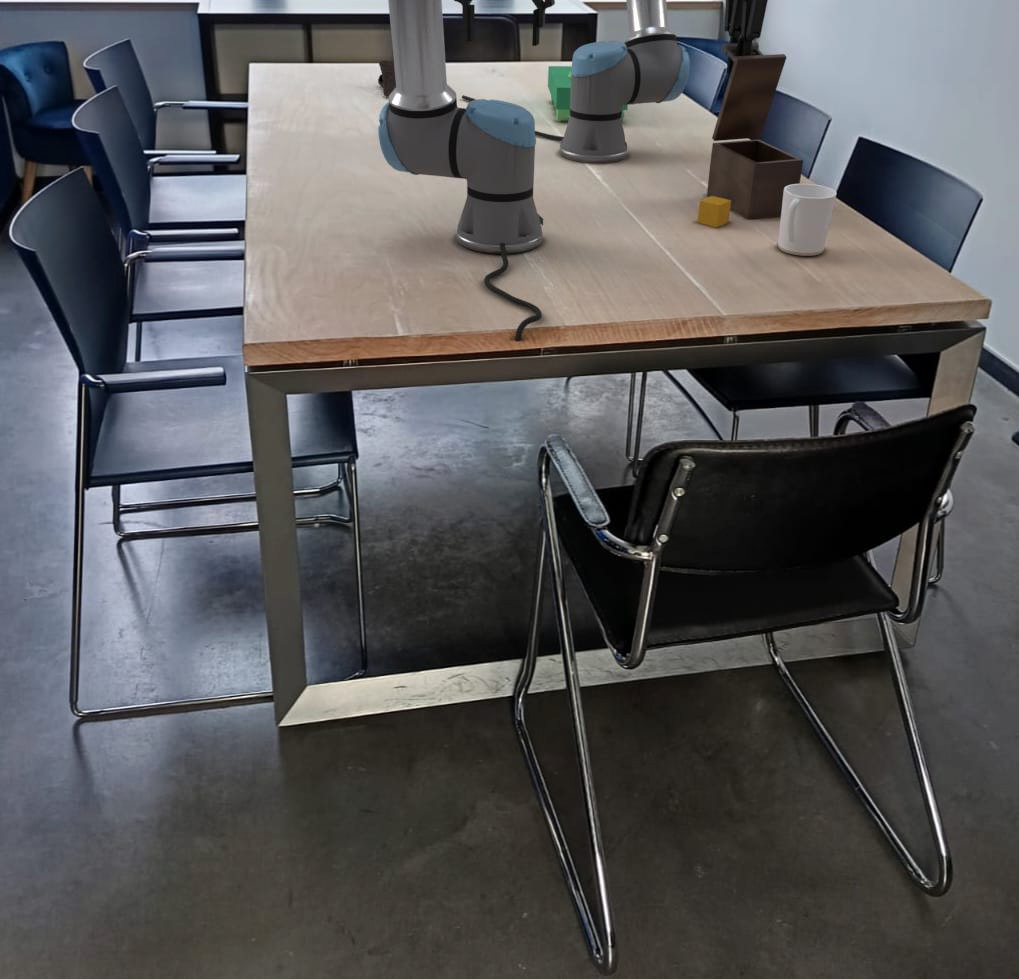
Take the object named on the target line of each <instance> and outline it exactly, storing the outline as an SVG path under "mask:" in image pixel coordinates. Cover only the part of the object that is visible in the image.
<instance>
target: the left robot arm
mask: <svg viewBox="0 0 1019 979" xmlns="http://www.w3.org/2000/svg"><path fill="white" fill-rule="evenodd" d="M453 1H454V2H457V3H459V4H460V5H461V6H462V7H461V8H462V23H464V24H465V23H466V41H467V42H473V41H474V40H475V24H476V23H475V22H476V21H475V12H476V11H475V10H476V9H475V4H472V2H473V0H453ZM531 1H532V3H533V4H534V6H535V7H536V8H535V9H533V10H532V12H533V13H532V39H531V40H532V42H531V44H532V45H531V46H532V47H537V46H539V45H540V30H541V29H542V28H545V24H546V9H548V8H551V7H553V6H555V4H556V1H555V0H531ZM387 2H388V3H387V4H388V11H389V12H388V13H389V23H390V33H391V34H390V36H391V45H392V56H393V61H394V68H395V79H396V88H395V89H394V90H393V92H392V93H391V94H390V95H389V97H388V98H387V99H388V102H386V103H385V104H384V105H383V107H382V108H381V111H380V113H379V117H378V122H379V126H378V128H377V131H378V132H377V133H378V141H379V147H380V149H381V154H382V156H383V157H384V159H385V161H386V163H387V164H388V165H389V166H390V167H391V168H392V169H393V170H396V171H398V172H402V173H408V174H411V175H413V176H414V175H415V176H418V175H423V176H435V177H442V178H443V177H444V178H452V179H453V178H454V179H463V180H466V192H467V193H466V198H465V202H464V205H463V209H462V211H461V214H460V218H459V220H458V224H457V228H456V241H457V243H458V244H459V245H461V246H462V247H464V248H466V249H468V250H470V251H475V252H479V253H486V254H497V255H499V254H500V256H501V261H502V265H501V267H500V268H498V269H496V270H494V271H492V272H490V273H488V274H487V275H485V276H484V280H483V283H484V285H485V287H486V288H487V289H488V290H489V291H491V292H493V293H495V294H496V295H498V296H500V297H502V298H503V299H505V300H507V301H509V302H510V303H514V304H516V305H518V306H521V307H523V308H527V309H528V310H531V311H532V312H533V313H534V315H531V316H528V317H527V318H525V319H524V320H522V321H521V322H520V323H519V325H518V326H517V329H516V331H515V336H514V341H515V342H521V340H522V336H523V332H524V330H525V328H526V327H527V326H528V325H530V324H532V323H535V322H538V321H539V320H540V319H542V316H543V313H542V311H541V309H540V308H539V306H537V305H535V304H533V303H532V302H529V301H526V300H523V299H520V298H519V297H515V296H514V295H511V294H509V293H507V292H506V291H504V290H502V289H500V288H498V287H496V286H495V285H493V284H492V283H491V280H492V279H494V278H495V277H497V276H500V275H502V274H504V273H505V272H506V271H507V270H508V268H509V258H508V256H507V255H508V254H517V253H524V252H527V251H530V250H533V249H536V248H538V247H539V246H540V245H541V244H542V243H543V229H542V227H543V226H544V218H543V217H542V216H541V215H540V214H539V212H538V210H537V206H536V204H535V199H534V184H535V181H534V180H535V158H536V156H535V155H536V144H537V138H536V135H535V131H536V128H535V127H536V123H535V122H536V121H535V118H534V116H533V114H532V113H531V111H529V110H527V108H525V107H523V106H521V105H518V104H516V103H512V102H509V101H504V100H499V99H486V98H480V99H476V100H473V101H469V102H468V104H467V106H466V107H458V101H457V100H458V99H457V92H456V91H455V90H454V89H453V88H452V87H451V86H450V85H449V84H448V82H447V65H446V50H445V49H446V48H445V33H444V17H443V16H444V15H443V1H442V0H387ZM517 580H518V575H516V574H515V573H514V572H511V581H517Z"/></svg>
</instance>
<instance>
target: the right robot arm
mask: <svg viewBox="0 0 1019 979" xmlns="http://www.w3.org/2000/svg"><path fill="white" fill-rule="evenodd" d="M768 2H769V0H725V6H724V7H725V8H724V24H723V25H724V28H723V29H724V32H727V33H728V36H729V43H737V51H736V55H735V56H752V54H751V48H752V42H754V41H755V40H757V39H760V38H761V36H762V31H763V25H764V20H765V16H766V10H767V6H768ZM667 8H668V7H667V0H626V9H627V10H626V11H627V19H628V21H627V22H628V30H629V34H628V36H627V37H626V39H625V40H624V41H623V42H622V41H616V40H609V41H606V40H605V41H595V42H591V43H587V44H584V45H583V44H582V45H581V46H579V47H578V48H577V49H576V50H575V51H574V52H573V53H572V54H573V55H572V59H571V60H572V61H571V66H572V67H571V93H570V116H569V121H567V124H566V127H565V131H564V136H562V135H561V136H560V135H555V134H549V133H545V132H541V131H539V130H538V131H537V130H535V136H538V137H541V138H545V139H548V140H554V141H559V142H560V145H559V155H560V156H562V157H563V158H566V159H568V160H570V161H571V160H572V161H576V162H581V163H593V164H596V163H597V164H603V163H605V164H606V163H613V162H619V161H621V160H624V159H625V158H627V157H628V150H629V148H628V142H627V141H626V135H625V130H624V126H623V120H622V107H623V105H628V106H629V105H639V104H652V103H655V104H662V103H664V102H665V103H666V102H672V101H675V100H676V99H678V98H679V97H680V96H681V95H682V94H683V92H684V90H685V88H686V85H687V84H688V81H689V76H690V72H691V71H690V70H691V62H690V55H689V53H688V52H687V49H686V47H685V46H682V45H680V44H678V41H677V34H676V33H675V32H674V31H673V30H672V29H670V27H669V17H668V9H667ZM726 63H727V64H726V70H725V73H726V74H731V71H732V68H733V64H734V61H733V60H732V59H731V58H730V57H729V56H728V55H727V62H726ZM461 99H462V100H465V101H469V102H471V101H473V100H477V99H476V98H473V97H470V96H467V95H465V94H464V95H463V94H462V96H461Z"/></svg>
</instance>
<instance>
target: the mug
mask: <svg viewBox="0 0 1019 979" xmlns="http://www.w3.org/2000/svg"><path fill="white" fill-rule="evenodd" d="M836 198H837V191H836V190H835V189H833V188H831V187H829V186H826V185H822V184H821V185H820V184H815V183H800V184H792V185H788V186H786V187H784V192H783V202H782V212H781V216H780V222H779V232H778V242H777V246H778V249H779V250H780V251H782V252H784V253H786V254H789V255H795V256H802V257H811V256H818V255H820V254H822V253H823V252H824V250H825V248H826V242H827V238H828V233H829V229H830V225H831V220H832V215H833V211H834V207H835V203H836Z"/></svg>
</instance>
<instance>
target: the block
mask: <svg viewBox="0 0 1019 979" xmlns="http://www.w3.org/2000/svg"><path fill="white" fill-rule="evenodd" d="M730 206H731V200H727V199H723V198H719V197H715V196H710V197H709V196H707V197H705V198H702V199H700V200H699V204H698V212H697V223H698V224H701V225H706V226H709V227H713V228H719V227H721V226H724V225H727V224H729V222H730V214H731V209H730Z"/></svg>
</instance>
